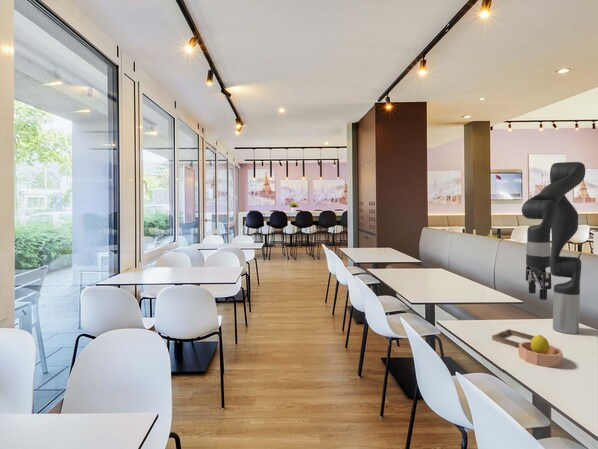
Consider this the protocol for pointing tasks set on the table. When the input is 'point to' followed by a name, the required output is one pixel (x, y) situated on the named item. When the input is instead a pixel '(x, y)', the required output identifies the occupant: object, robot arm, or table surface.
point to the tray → (498, 336)
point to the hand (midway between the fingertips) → (537, 296)
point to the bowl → (541, 355)
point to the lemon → (539, 344)
